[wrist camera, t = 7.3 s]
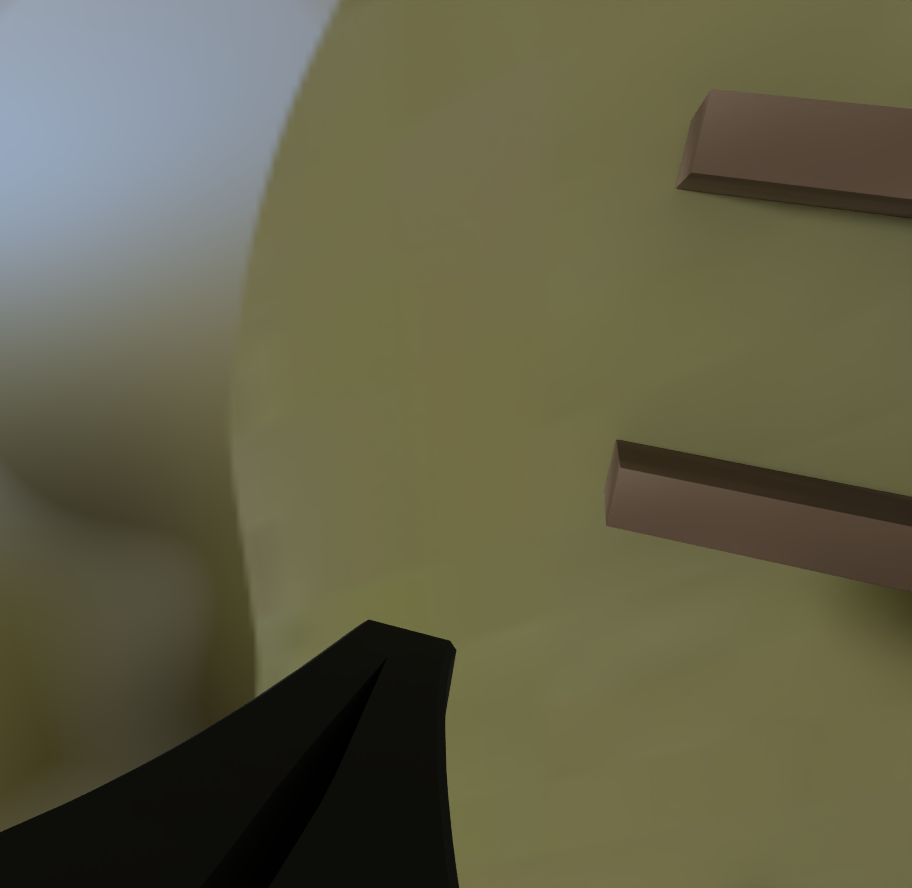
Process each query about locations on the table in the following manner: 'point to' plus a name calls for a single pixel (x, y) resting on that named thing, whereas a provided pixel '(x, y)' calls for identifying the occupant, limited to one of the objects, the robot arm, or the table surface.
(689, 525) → the cable track
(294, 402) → the table surface
